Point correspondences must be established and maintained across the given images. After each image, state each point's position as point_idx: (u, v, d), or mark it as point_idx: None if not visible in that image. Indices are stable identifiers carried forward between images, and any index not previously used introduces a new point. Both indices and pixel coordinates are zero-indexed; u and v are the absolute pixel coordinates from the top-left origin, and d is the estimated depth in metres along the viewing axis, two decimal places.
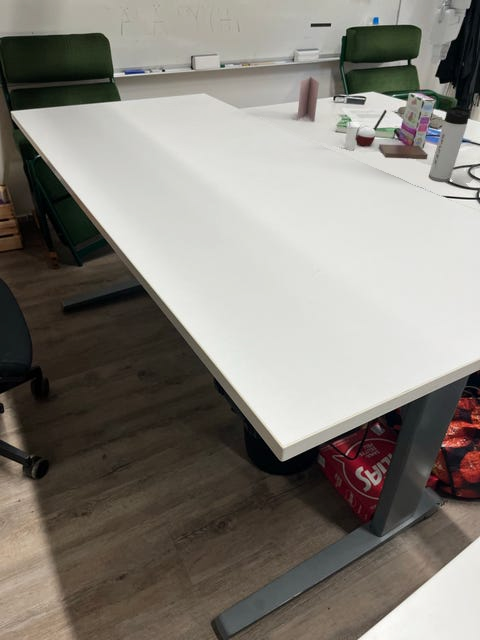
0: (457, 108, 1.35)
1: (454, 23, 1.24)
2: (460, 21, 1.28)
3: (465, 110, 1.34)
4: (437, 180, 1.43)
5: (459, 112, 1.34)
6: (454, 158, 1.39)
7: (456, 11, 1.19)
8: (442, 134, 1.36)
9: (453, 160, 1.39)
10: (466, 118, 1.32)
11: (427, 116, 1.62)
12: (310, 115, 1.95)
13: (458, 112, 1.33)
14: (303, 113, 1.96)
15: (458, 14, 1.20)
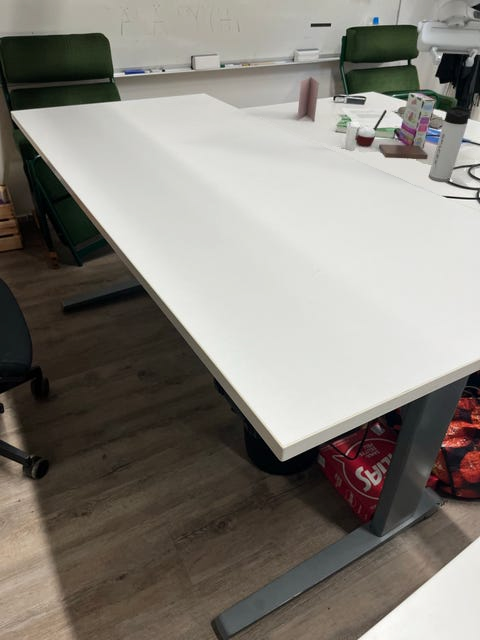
0: (457, 108, 1.35)
1: None
2: None
3: (465, 110, 1.34)
4: (437, 180, 1.43)
5: (459, 112, 1.34)
6: (454, 158, 1.39)
7: (447, 23, 1.38)
8: (442, 134, 1.36)
9: (453, 160, 1.39)
10: (466, 118, 1.32)
11: (427, 116, 1.62)
12: (310, 115, 1.95)
13: (458, 112, 1.33)
14: (303, 113, 1.96)
15: (450, 23, 1.37)
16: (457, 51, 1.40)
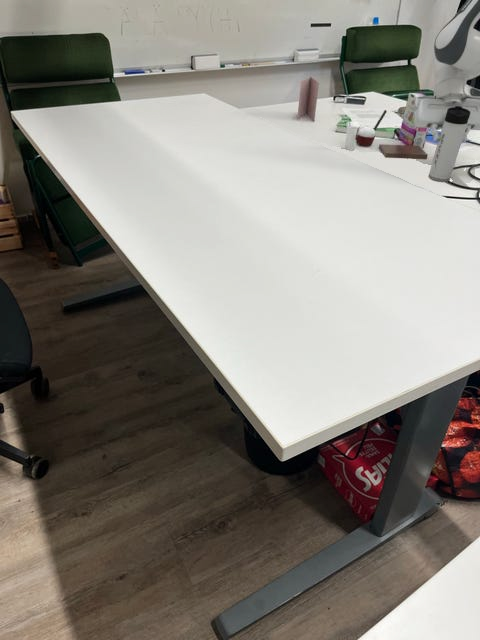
0: (457, 108, 1.35)
1: None
2: None
3: (465, 110, 1.34)
4: (437, 180, 1.43)
5: (459, 112, 1.34)
6: (454, 158, 1.39)
7: (444, 99, 1.38)
8: (442, 134, 1.36)
9: (453, 160, 1.39)
10: (466, 118, 1.32)
11: None
12: (310, 115, 1.95)
13: (458, 112, 1.33)
14: (303, 113, 1.96)
15: (447, 100, 1.37)
16: None
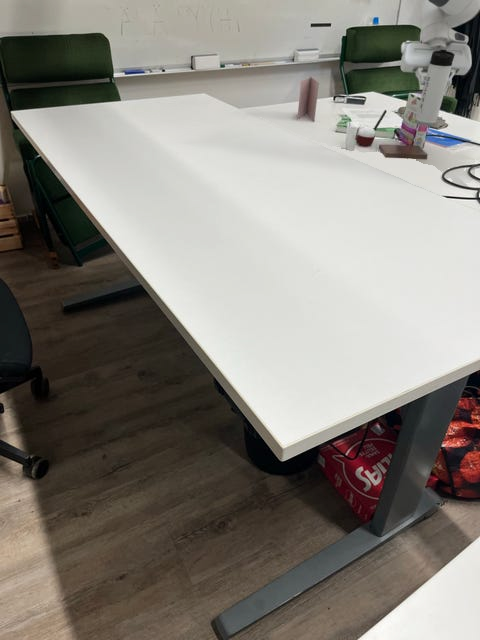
0: (442, 51, 1.39)
1: None
2: (464, 54, 1.42)
3: (450, 53, 1.39)
4: (423, 124, 1.47)
5: (444, 55, 1.38)
6: (439, 101, 1.43)
7: (430, 44, 1.42)
8: (427, 77, 1.41)
9: (438, 103, 1.43)
10: (450, 60, 1.36)
11: None
12: (310, 115, 1.95)
13: (442, 55, 1.38)
14: (303, 113, 1.96)
15: (432, 45, 1.41)
16: None
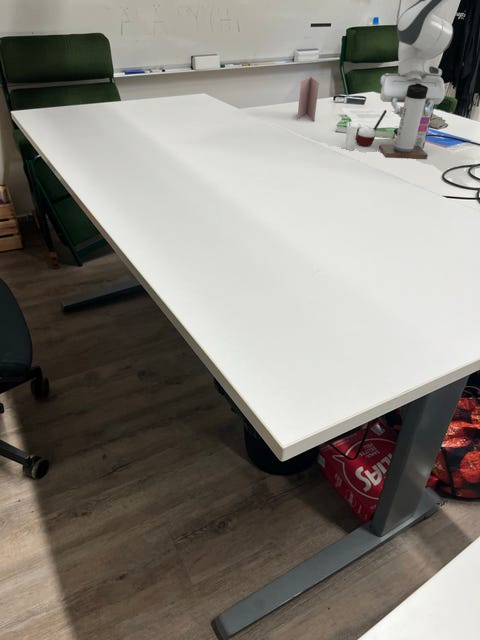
0: (417, 85, 1.53)
1: None
2: (438, 85, 1.55)
3: (424, 87, 1.52)
4: (401, 150, 1.61)
5: (418, 88, 1.52)
6: (415, 130, 1.57)
7: (407, 77, 1.56)
8: (404, 108, 1.54)
9: (414, 132, 1.57)
10: (424, 93, 1.50)
11: (427, 116, 1.62)
12: (310, 115, 1.95)
13: (417, 88, 1.51)
14: (303, 113, 1.96)
15: (409, 77, 1.55)
16: None
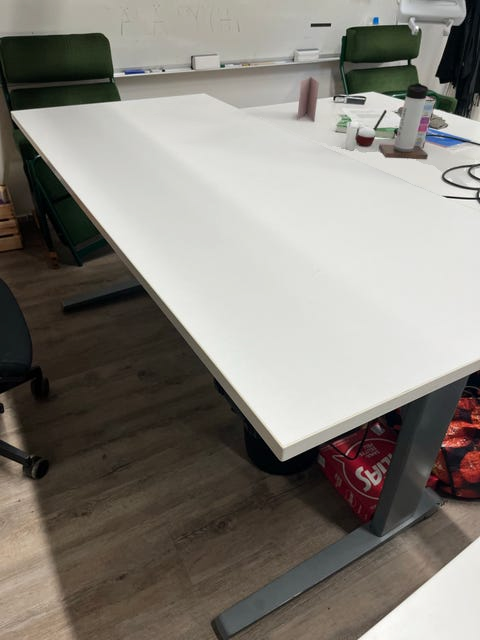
0: (417, 85, 1.53)
1: (438, 4, 1.45)
2: (459, 4, 1.44)
3: (424, 87, 1.52)
4: (401, 150, 1.61)
5: (418, 88, 1.52)
6: (415, 130, 1.57)
7: None
8: (404, 108, 1.54)
9: (414, 132, 1.57)
10: (424, 93, 1.50)
11: (427, 116, 1.62)
12: (310, 115, 1.95)
13: (417, 88, 1.51)
14: (303, 113, 1.96)
15: None
16: (434, 22, 1.47)
